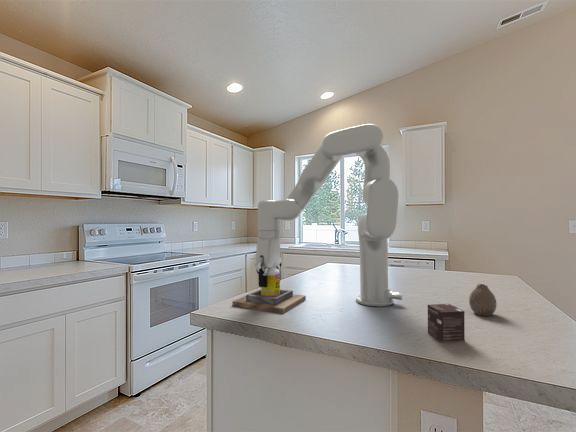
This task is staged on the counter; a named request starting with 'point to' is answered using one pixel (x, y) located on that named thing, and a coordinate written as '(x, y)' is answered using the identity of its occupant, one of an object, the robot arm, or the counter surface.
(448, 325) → the box
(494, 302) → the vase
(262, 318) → the counter surface
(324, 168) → the robot arm
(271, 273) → the supplement bottle
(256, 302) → the board
